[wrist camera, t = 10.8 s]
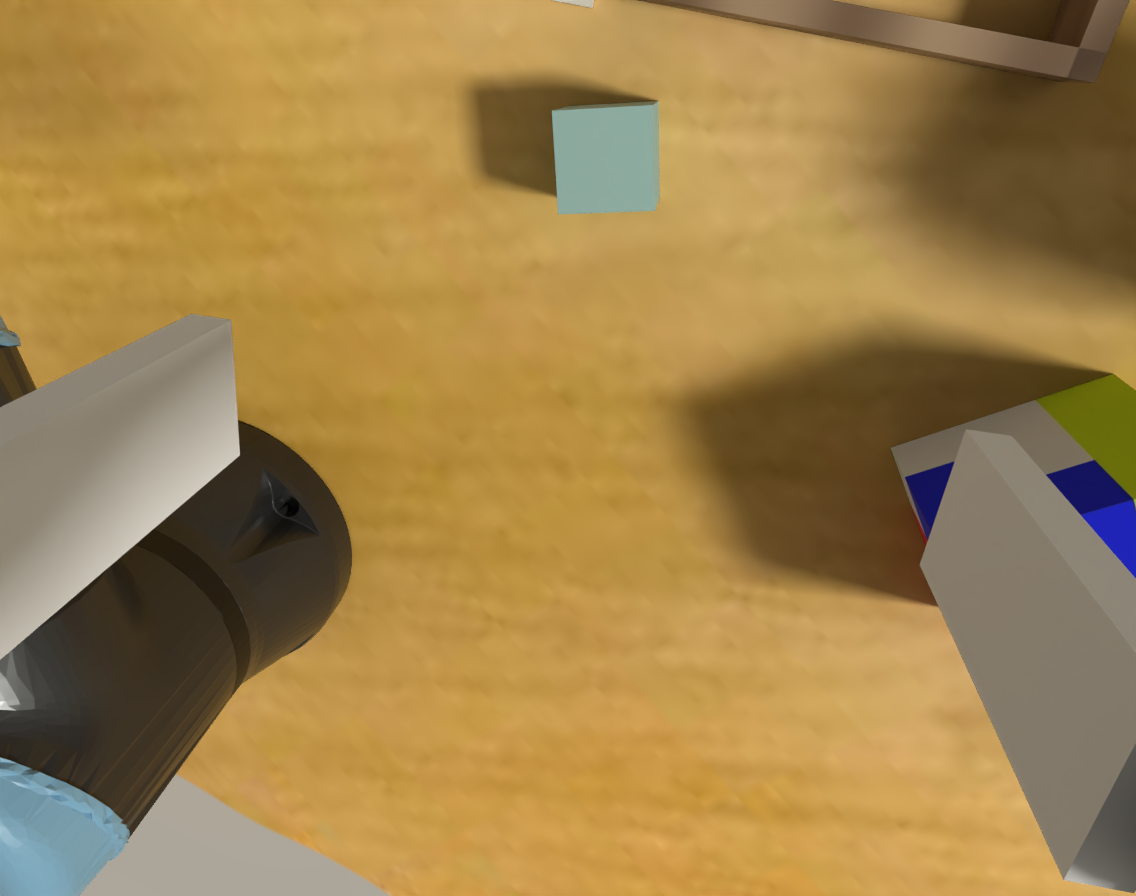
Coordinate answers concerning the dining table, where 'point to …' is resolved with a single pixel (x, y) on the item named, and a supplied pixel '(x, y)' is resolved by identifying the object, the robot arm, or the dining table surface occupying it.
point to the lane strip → (578, 2)
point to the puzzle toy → (1050, 457)
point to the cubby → (944, 33)
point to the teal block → (607, 157)
